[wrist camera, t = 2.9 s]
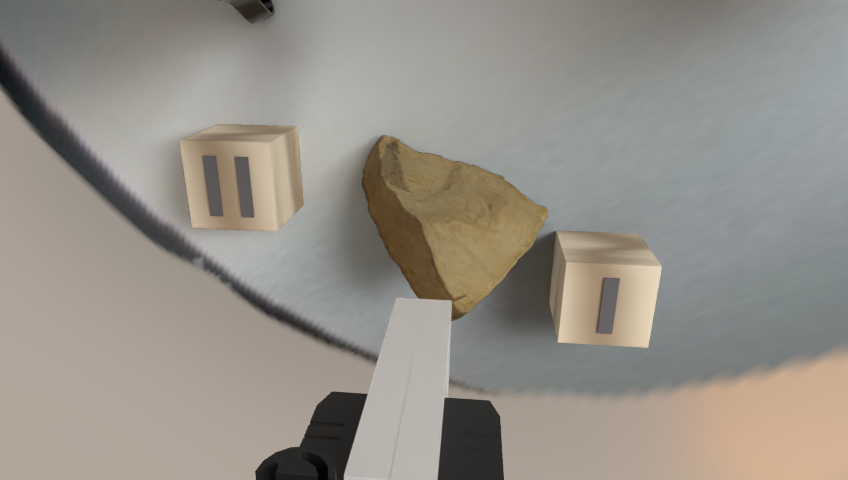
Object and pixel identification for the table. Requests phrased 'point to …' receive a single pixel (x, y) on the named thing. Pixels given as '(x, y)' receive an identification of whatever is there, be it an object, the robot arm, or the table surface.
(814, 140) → the table surface
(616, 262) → the birch block
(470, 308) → the rock
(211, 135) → the birch block
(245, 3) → the coffee press
